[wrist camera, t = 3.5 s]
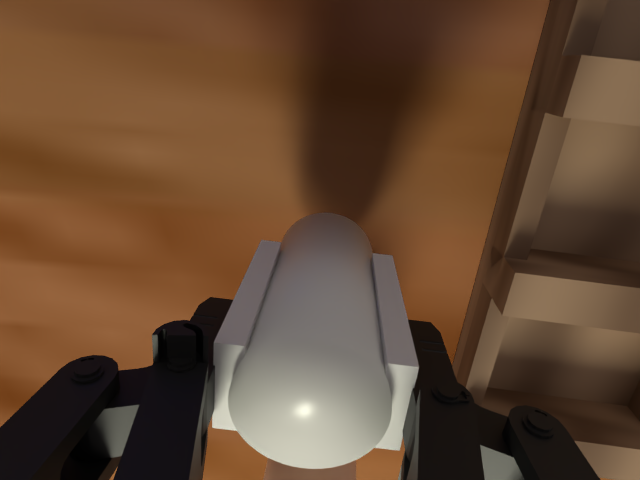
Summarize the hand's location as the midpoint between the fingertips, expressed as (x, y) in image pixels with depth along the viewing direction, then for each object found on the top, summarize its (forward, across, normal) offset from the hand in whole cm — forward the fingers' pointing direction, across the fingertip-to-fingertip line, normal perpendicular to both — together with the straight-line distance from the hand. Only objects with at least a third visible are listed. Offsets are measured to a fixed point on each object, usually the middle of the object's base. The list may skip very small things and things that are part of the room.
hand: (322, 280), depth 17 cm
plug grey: (+2, 0, 0) cm, 2 cm away
